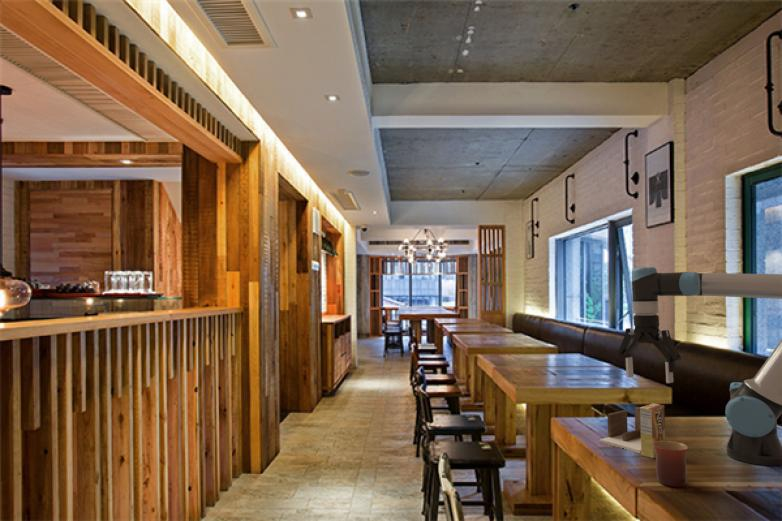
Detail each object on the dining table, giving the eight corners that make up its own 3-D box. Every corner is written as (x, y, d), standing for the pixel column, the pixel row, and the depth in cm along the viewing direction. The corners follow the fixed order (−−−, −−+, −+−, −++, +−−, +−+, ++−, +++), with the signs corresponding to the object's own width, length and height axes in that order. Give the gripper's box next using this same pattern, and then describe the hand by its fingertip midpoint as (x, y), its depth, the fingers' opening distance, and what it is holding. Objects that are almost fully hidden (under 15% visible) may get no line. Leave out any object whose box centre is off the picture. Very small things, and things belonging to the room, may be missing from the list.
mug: (686, 492, 136) (684, 452, 137) (650, 484, 142) (648, 446, 142) (694, 478, 145) (693, 441, 146) (660, 471, 151) (659, 436, 152)
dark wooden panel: (627, 435, 187) (626, 410, 188) (610, 440, 182) (609, 414, 182) (625, 435, 188) (624, 410, 189) (608, 439, 183) (607, 414, 183)
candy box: (653, 449, 171) (651, 402, 172) (666, 452, 168) (664, 405, 169) (640, 455, 166) (638, 407, 166) (654, 458, 162) (652, 409, 163)
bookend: (664, 445, 176) (663, 412, 177) (647, 450, 171) (646, 416, 171) (638, 438, 184) (637, 407, 184) (621, 443, 179) (620, 411, 179)
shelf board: (665, 445, 176) (665, 442, 176) (639, 453, 168) (639, 450, 168) (625, 435, 188) (625, 432, 188) (599, 442, 180) (599, 439, 180)
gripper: (690, 314, 162) (694, 383, 160) (618, 313, 183) (621, 373, 181) (677, 316, 158) (681, 386, 156) (605, 313, 179) (608, 376, 177)
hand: (649, 379), depth 169 cm, fingers open, 13 cm apart
